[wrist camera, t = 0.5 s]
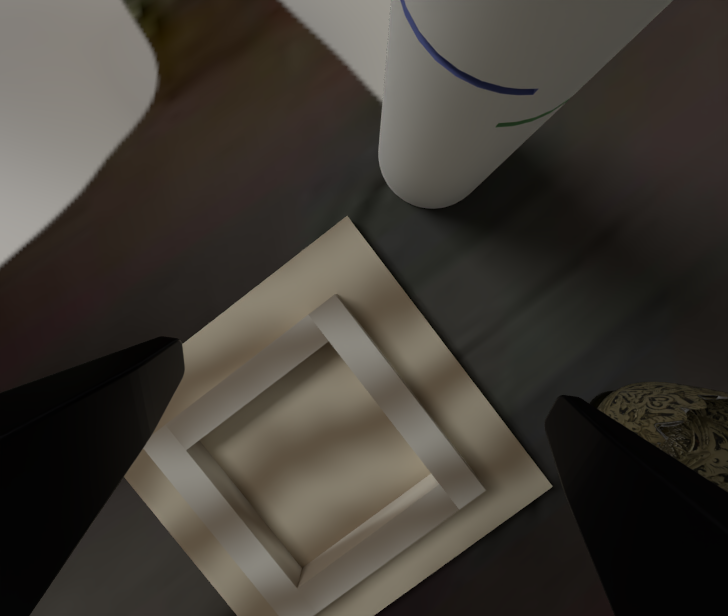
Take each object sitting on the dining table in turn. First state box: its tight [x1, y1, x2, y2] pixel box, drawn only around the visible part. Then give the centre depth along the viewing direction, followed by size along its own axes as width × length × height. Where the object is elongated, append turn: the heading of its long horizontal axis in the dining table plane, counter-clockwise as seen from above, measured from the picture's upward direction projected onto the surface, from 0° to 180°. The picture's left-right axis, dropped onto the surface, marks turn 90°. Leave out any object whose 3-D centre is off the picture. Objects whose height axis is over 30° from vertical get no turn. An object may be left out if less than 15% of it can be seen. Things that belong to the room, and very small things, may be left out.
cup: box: [590, 382, 728, 492], centre depth 18 cm, size 8×7×8 cm
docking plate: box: [124, 216, 553, 616], centre depth 21 cm, size 22×22×2 cm
